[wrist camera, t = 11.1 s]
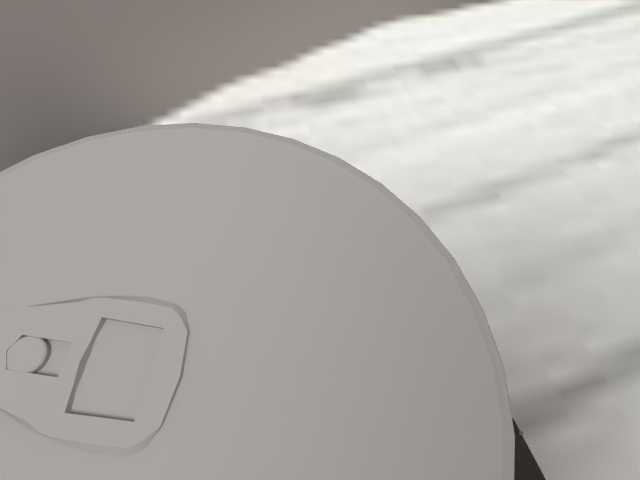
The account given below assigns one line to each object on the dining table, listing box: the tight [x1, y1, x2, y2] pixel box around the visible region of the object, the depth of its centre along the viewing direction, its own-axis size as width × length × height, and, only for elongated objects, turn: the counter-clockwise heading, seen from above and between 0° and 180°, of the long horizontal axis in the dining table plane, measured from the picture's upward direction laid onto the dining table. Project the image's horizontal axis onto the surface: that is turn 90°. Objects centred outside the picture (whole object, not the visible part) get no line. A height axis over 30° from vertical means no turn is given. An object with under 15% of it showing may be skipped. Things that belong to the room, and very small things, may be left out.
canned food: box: [0, 123, 515, 480], centre depth 9 cm, size 8×8×11 cm
